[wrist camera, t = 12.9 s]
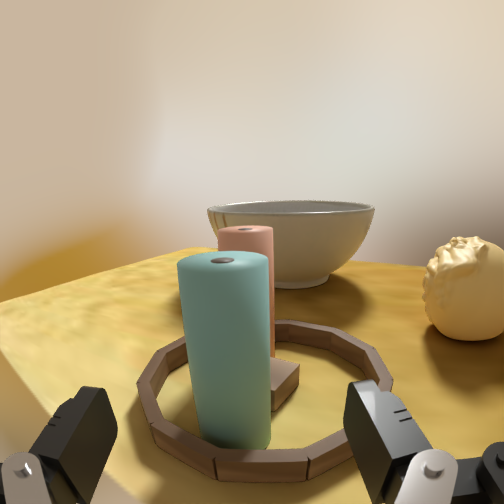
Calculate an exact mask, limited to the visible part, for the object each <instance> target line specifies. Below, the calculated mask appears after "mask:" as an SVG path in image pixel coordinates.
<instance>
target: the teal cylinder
mask: <svg viewBox="0 0 504 504" xmlns="http://www.w3.org/2000/svg"><path fill="white" fill-rule="evenodd" d="M177 270H178V280H179V290H180V299H181V308H182V317H183V325H184V333H185V341H186V348H187V355H188V362H189V369H190V375H191V382H192V388H193V394H194V400H195V406H196V412H197V418H198V423H199V429H200V434H201V439H202V440H204V441H206V442H208V443H210V444H212V445H214V446H216V447H218V448H221V449H248V450H264V449H265V448H266V447H267V446H268V444H269V442H270V439H271V378H270V310H269V264H268V258H267V257H266V256H265V255H262V254H259V253H254V252H246V251H218V252H208V253H202V254H197V255H192V256H189V257H186V258H183V259H182V260H180V261H179V262H178V263H177Z"/></svg>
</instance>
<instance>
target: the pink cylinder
mask: <svg viewBox="0 0 504 504" xmlns="http://www.w3.org/2000/svg"><path fill="white" fill-rule="evenodd" d="M217 234H218V251H246V252H254V253H259V254H262V255H265V256H266V257H267V258H268V264H269V310H270V357H273V358H275V315H274V252H273V228H272V227H268V226H234V227H226V228H222V229H219V230H217Z"/></svg>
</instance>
